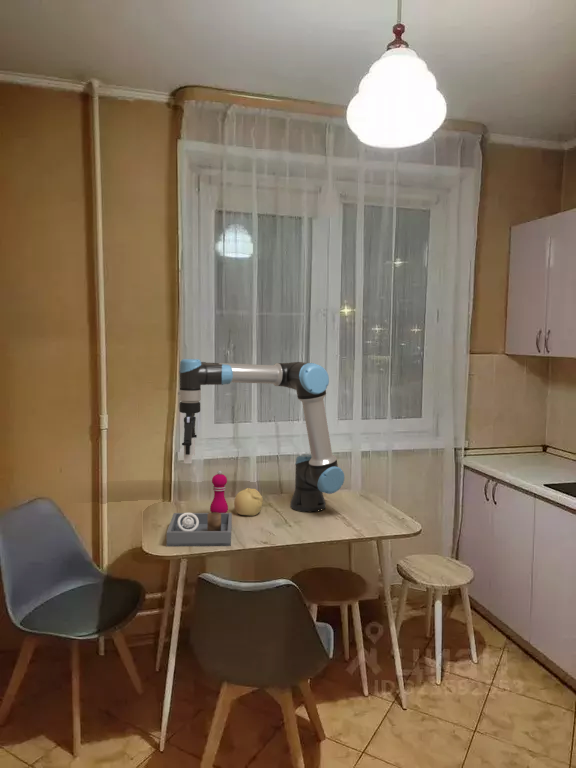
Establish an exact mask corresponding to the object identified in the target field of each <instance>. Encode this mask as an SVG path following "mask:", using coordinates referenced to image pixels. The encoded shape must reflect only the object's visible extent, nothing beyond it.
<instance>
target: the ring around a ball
mask: <svg viewBox="0 0 576 768" xmlns="http://www.w3.org/2000/svg"><path fill="white" fill-rule="evenodd" d="M183 513H184V514H182V515H180V517H179V518H178V521H177V524H178V527H179V528H180V529H181V530H182V531H194V530H196V529H197V527H198V525H199V520H198V517H197V516H196V515H195V514H193V513H194V512H183ZM188 515H190V516H192V517H194V518H195V520H196V525H194V520H193V518H192V517H189V516H188ZM184 516H187V517H185V518H184V519H183V521H182V524H183V525H182V526H184V527H185V528H191V527H192V526H193V525H194V526H195V527H194V528H192V529H184V528H183V527H182V526H181V524H180V520H181V518H182V517H184Z"/></svg>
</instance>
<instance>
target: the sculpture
mask: <svg viewBox="0 0 576 768" xmlns="http://www.w3.org/2000/svg"><path fill="white" fill-rule="evenodd" d="M263 503H264V499H263V496H262V495H261V493H260V492H259V491H258V490H257V489H256V488H250V487H246V488H245V489H242V490H240V491H239V492H237V494H236V495H235V498H234V503H233V505H234V509H235V511H236V513H237V514H239V515H241V516H257V515H258V513H260V512H261V510H262V506H263Z"/></svg>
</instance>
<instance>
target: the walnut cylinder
mask: <svg viewBox="0 0 576 768" xmlns="http://www.w3.org/2000/svg"><path fill="white" fill-rule="evenodd" d="M207 513H208V522H207V531H221V513H218V512H207Z"/></svg>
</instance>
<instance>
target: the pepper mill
mask: <svg viewBox="0 0 576 768" xmlns="http://www.w3.org/2000/svg"><path fill="white" fill-rule="evenodd" d="M222 473H223V472H222V470H217V472H216V474H215V475H213V477H212V478H211V479H212V480H211V483H212V485H213V487H212V489H213V492H214V494H213V495H214V496H213V499H212V502H211V504H210V508H209V510H210V513H212V512H218V513H228V511H229V505H228V502H227V500H226V497H225V491H226V490H227V489H226V485H227V483H228V479H227V476H226V475H225V474H222Z"/></svg>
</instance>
